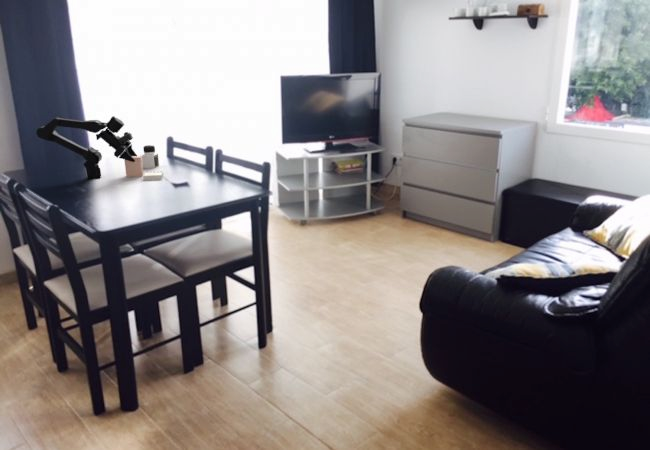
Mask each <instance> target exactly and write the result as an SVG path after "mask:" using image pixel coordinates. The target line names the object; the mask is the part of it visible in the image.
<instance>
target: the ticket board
mask: <svg viewBox="0 0 650 450" xmlns="http://www.w3.org/2000/svg"><path fill="white" fill-rule="evenodd" d="M142 177H143V181H152V180H153V181H155V180H162V179H164V177H165V175H164V171H146V172H145V173H143V176H142Z"/></svg>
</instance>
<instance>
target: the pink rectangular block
mask: <svg viewBox="0 0 650 450" xmlns="http://www.w3.org/2000/svg"><path fill="white" fill-rule="evenodd" d="M132 158H133V159H134V160H135V162H131V161H128V160H125V159H123V160H124V166H125V174H126V175H125V176H126V177H127V178H130V177H143V175H144V168H143V164H142V155H137V156H132Z"/></svg>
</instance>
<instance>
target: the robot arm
mask: <svg viewBox="0 0 650 450" xmlns="http://www.w3.org/2000/svg"><path fill="white" fill-rule="evenodd" d="M124 126H125V123H124V122H123V121H122V120H121V119H119V118H117V117H115V115H113V116H111V118H110V119H109V121H107V122H103V121H100V120H99V119H92V120H91V119H89V120H77V119H70V118H63V117H62V118H61V117H55V118H53V119H51V121H50V122H48V123H47V124H46V125H43V126H41V127H39V128H37V129H36V136H37V138H39V139H41V140H45V141H47V142H51V143H52V142H53V143H55V144H57V145H59V146H62V147H63V148H65V149H67V150H69V151H71V152H73V153H75V154H77V155H79V156H81V157H82V159H84V161H85V162H84V163H83V166H84V169H85V173H86V176H85V177H86V179H87V180H95V179H101V177H102V172H101V168H100V166H99V163H100V162H101V161H102V158H103V155H102V153H101V152H100V151H99V149H95V148H94V147H92V146H90V147H87V148H86V147H84V146H82V145H80V144H78V143H77V142H74V141H72V140H70V139H68V138H67V137H64V136H62V135H60V134H59V132H57V131H56V129H57V128H58V127H61V128H62V127H63V128H71V129H79V130H84V131H85V132H90V133H94V134H95V136H96V137H95V138H96V141H98V140H100V139H102V140H103V141H104V142H105V143H107V144H108V147H110V148H112V149H114V150H115V151H114V152H113V154H114V155H113V156H115V157H116V158H117V159H118V158H119V159H120V160H121V159H123V160H124V159H125V160H128V161H131V162H135V160H134V159H133V158H132V156H138V155H137V153H136V152H135V151H134V149H133V144H132V142H131V141H132V140H133V139H134V137H133V135H132V133H130V132H128V131H126V132H123V135H122V136H119V135H116V134H117V133H119V131H120V130H121V129H122V128H123V127H124ZM104 129H105V130H104ZM115 133H116V134H115ZM125 160H124V161H125Z"/></svg>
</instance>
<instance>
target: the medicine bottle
mask: <svg viewBox="0 0 650 450" xmlns="http://www.w3.org/2000/svg"><path fill="white" fill-rule="evenodd" d="M142 149H143V154H142V155H141V156H142V165H143V169H145V168H147V169H149V168H150V169H151V168H157V167H158V166H160V163H159V162H160V161H159V153H158V152H156V148H155V145H153V144H152V145H151V144H149V145H144V146H143V148H142Z"/></svg>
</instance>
